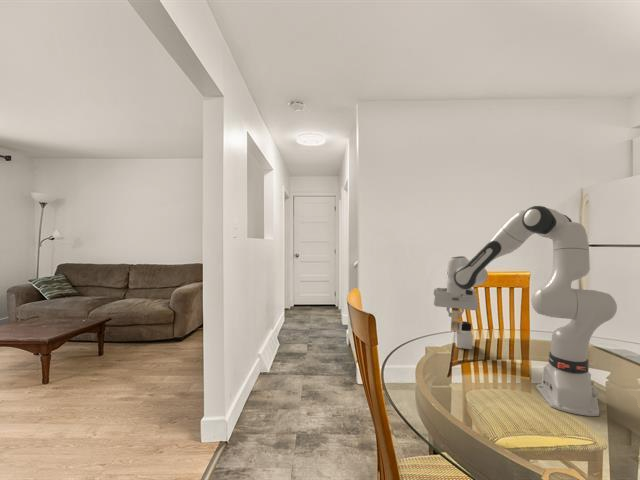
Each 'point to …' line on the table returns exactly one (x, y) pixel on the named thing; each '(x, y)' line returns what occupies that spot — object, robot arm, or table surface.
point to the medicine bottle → (464, 335)
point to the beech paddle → (454, 317)
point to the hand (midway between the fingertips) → (455, 316)
